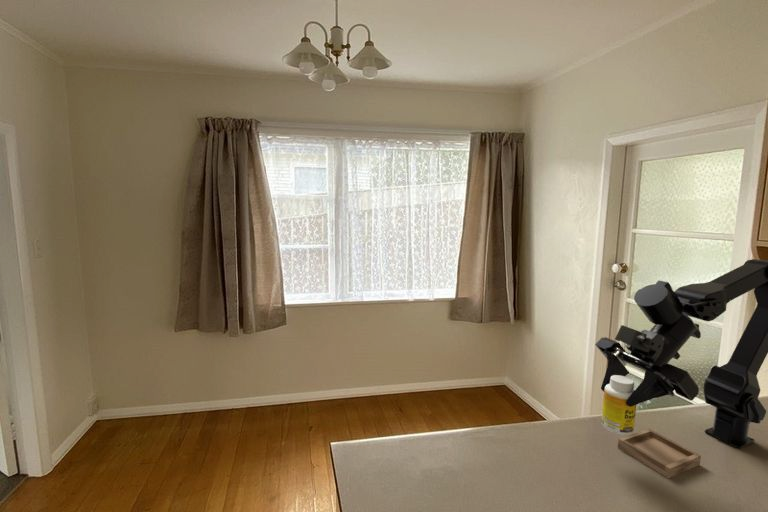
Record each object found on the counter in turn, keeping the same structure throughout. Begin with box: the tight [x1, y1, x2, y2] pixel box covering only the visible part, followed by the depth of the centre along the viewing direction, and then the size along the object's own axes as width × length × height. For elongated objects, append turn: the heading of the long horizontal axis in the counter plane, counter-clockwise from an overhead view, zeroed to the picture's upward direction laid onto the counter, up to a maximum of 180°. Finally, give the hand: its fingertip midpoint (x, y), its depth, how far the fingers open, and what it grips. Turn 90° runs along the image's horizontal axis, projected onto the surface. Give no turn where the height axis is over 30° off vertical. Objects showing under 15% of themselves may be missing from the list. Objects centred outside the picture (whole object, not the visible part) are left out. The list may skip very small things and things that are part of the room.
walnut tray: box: [617, 428, 702, 479], centre depth 79 cm, size 10×10×2 cm
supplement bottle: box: [600, 375, 638, 436], centre depth 77 cm, size 6×6×10 cm
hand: (614, 397), depth 76 cm, fingers closed on supplement bottle, 5 cm apart
